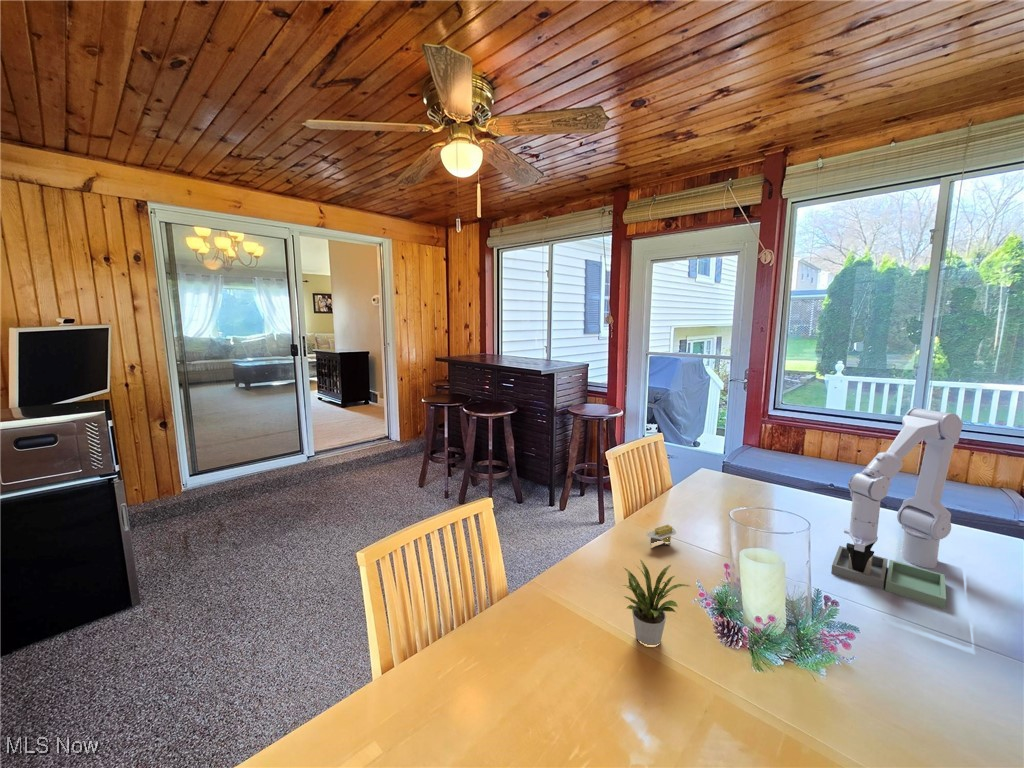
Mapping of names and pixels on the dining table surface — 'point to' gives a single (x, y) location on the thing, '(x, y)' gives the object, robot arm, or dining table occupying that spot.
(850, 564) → the stone block
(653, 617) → the house plant
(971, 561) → the dining table surface
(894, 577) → the tray
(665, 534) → the platform
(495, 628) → the dining table surface
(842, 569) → the tray
